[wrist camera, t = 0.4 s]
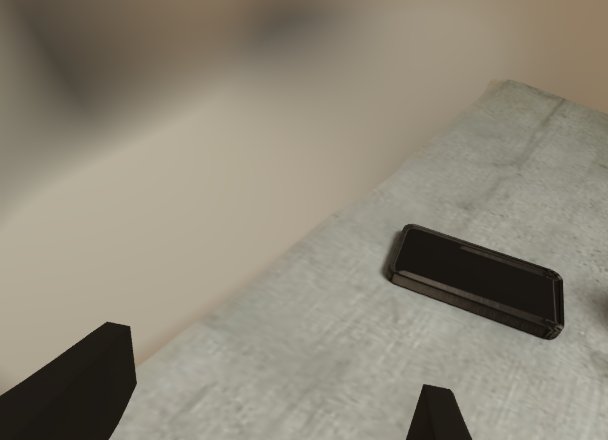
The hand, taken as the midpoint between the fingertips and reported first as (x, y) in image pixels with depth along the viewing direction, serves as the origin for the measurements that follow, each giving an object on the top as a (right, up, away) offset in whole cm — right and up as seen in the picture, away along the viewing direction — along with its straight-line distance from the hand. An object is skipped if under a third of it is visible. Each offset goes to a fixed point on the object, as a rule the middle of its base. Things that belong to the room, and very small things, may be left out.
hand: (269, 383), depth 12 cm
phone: (+16, -2, +33) cm, 36 cm away
